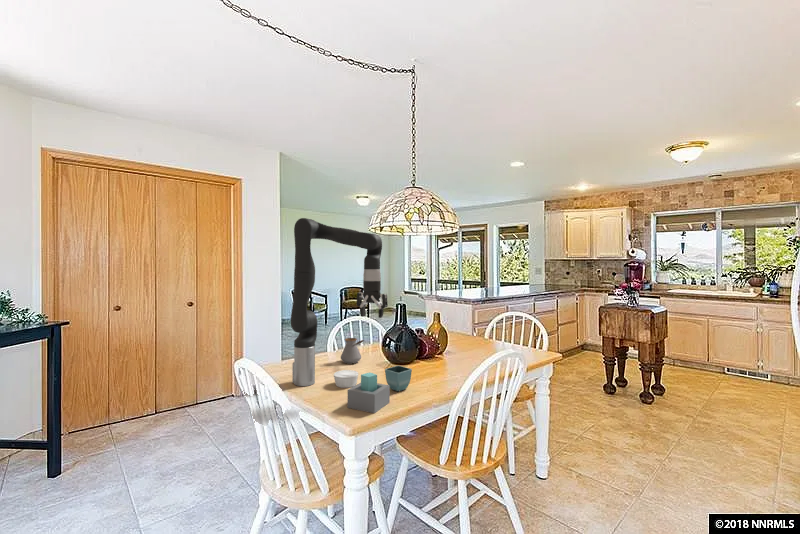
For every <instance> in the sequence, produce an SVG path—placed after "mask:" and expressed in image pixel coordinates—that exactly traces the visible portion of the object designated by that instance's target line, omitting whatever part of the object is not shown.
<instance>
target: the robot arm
mask: <svg viewBox="0 0 800 534" xmlns="http://www.w3.org/2000/svg"><path fill="white" fill-rule="evenodd" d="M293 229H294V230H293V235H294V236H293V237H294V249H295V250H294V270H293V271H294V272H293V273H294V274H293V299H292V308H291V314H290V325H291V328H292V330H293V331H294V332H295V333H297V334H298V336H297V337H296V338H295V340H294V342H293V352H294V353H293V358H294V359H293V362H292V365H291V366H292V369H291V370H292V381H291V383H292V384H293V383H294V385H295V386H298V387H307V386H308V387H309V386H312V385H314V384H315V383H316V372H315V371H316V351H315V350H316V349H315V348H316V345H315V344H316V341H317V336H318V335H317V334H318V317H317V315H316V314H315V312H314V311H312V310H310V309H308V301H309V299H310V296H311V293H312V292H313V289H314V286H315V282H316V266H315V263H314V258H313V255H312V251H311V250H312V249H311V242H312V239H313V240H315V239H316V240H326V241H331V242H335V243H337V244H342V245H345V246H350V247H357V248H361V249H364V250H366V256H365V257H364V259H363V275H362V276H363V279H362V280H363V281H362V283H363V285H362V287H363V288H362V289H363V292H361V291H360V292H356V293H357V294H356V306H357V307H359V308H360V315H361V317H366V306H367V305H368V304H370V303H371V304H375V305H376V306H377V308H378V314H377V315H378V316H377V317H378V319H382V318H383V317H384V309H386V308H388V307H389V305H388V303H389V302H388V294H387V293H381V287H382V284H381V283H382V282H381V280H382V276H381V274H382V273H381V256H382V250H383V240H382V238H381V236H380V235H378V234H376V233H370V232H363V231H359V230H355V229H349V228H345V227H344V228H343V227H336V226H331V225H327V224H323V223H321V222H318V221H316V220H314V219H311V218H307V217H306V218H305V217H300V218H298V219H297V220H296V221H295V223H294V227H293ZM363 298H364V299H363Z"/></svg>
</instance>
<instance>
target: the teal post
mask: <svg viewBox="0 0 800 534" xmlns="http://www.w3.org/2000/svg"><path fill="white" fill-rule="evenodd" d="M360 383H361V390H363V391H369V392H374V391H375V390H377V383H378V374H377V373H373V372H366V373H362V374H360Z"/></svg>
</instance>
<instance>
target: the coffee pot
mask: <svg viewBox="0 0 800 534" xmlns="http://www.w3.org/2000/svg"><path fill="white" fill-rule="evenodd" d="M357 340H358V339H357V338H355V337H346V338H345V339H344V341H345V342H346V343H345V346H344V347H343V350H342V352H341V355H340V360H341V361H342V362H343V363H344V364H346V363H347V364H348V365H352V363H354V364H358V363H359V361H361V359H362V355H361V352H360V349H359V348H358V345H360V344H363V345H364V344H365V343H366V342H365V340H364V339H362V340H361V339H360V341H358V342H357ZM363 342H364V343H363Z"/></svg>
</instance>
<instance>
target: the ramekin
mask: <svg viewBox="0 0 800 534" xmlns="http://www.w3.org/2000/svg"><path fill="white" fill-rule="evenodd" d="M358 378H359V372H358V371H356V370H354V369H352V370H351V369H343V370H337V371H335V372H334V373H333V379H334V382H335V385H336V387H337V388H340V389H341V388H342V389H346V388H348V389H350V388H352V387H354V386H355V385H357V383H358Z"/></svg>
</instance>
